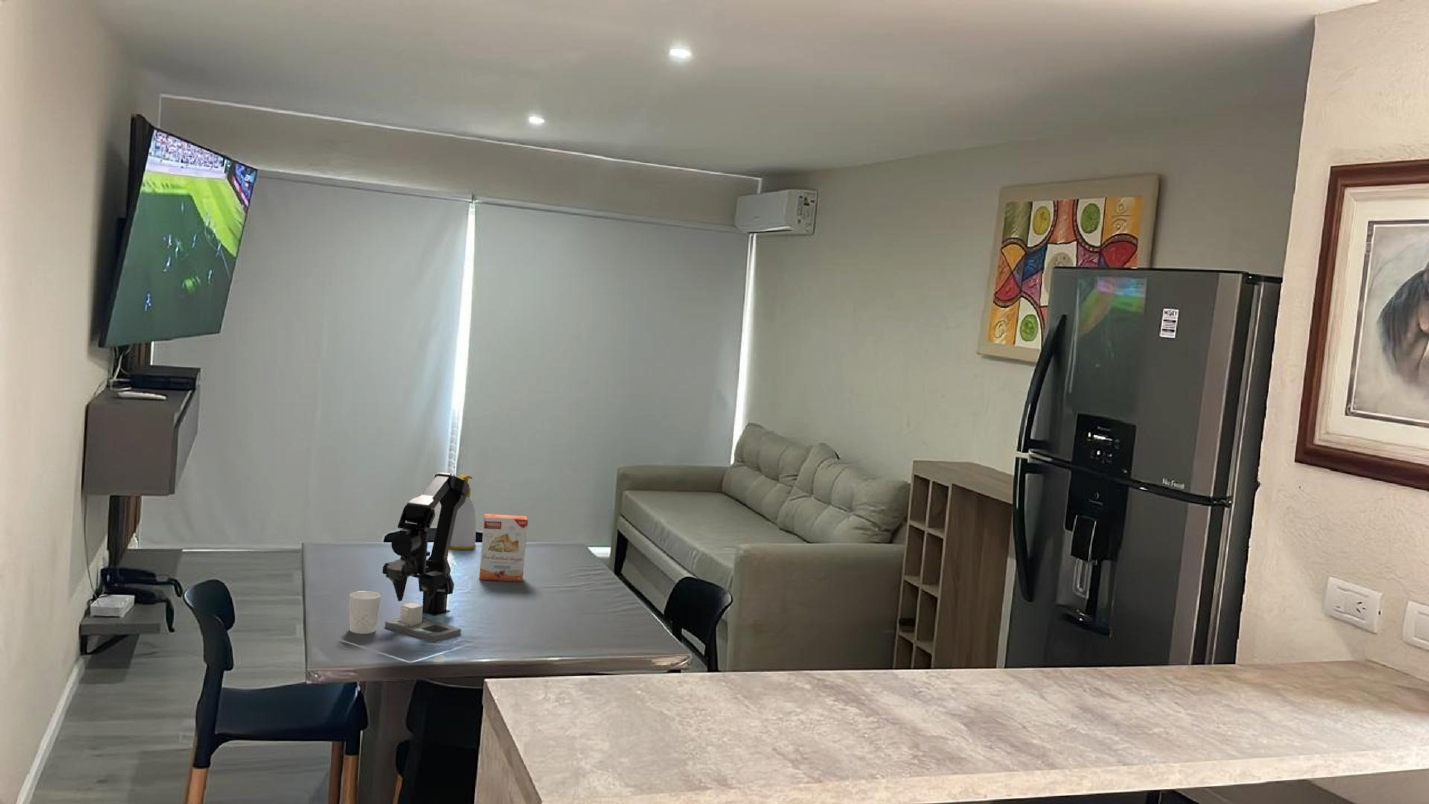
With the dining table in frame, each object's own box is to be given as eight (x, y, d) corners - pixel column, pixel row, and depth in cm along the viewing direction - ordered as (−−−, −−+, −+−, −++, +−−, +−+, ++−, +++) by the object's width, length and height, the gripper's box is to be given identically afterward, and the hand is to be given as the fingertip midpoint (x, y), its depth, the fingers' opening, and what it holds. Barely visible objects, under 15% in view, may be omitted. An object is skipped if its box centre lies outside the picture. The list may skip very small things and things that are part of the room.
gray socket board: (411, 621, 315) (412, 613, 315) (460, 636, 306) (461, 628, 306) (384, 628, 306) (385, 620, 306) (434, 644, 297) (434, 635, 297)
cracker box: (479, 580, 366) (484, 516, 364) (479, 575, 371) (484, 513, 370) (523, 582, 368) (528, 519, 367) (522, 577, 374) (527, 515, 373)
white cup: (368, 637, 297) (371, 600, 297) (341, 633, 299) (344, 596, 298) (383, 630, 305) (386, 593, 304) (356, 625, 307) (359, 589, 306)
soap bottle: (438, 548, 404) (444, 475, 402) (451, 542, 416) (456, 471, 413) (468, 552, 402) (474, 479, 400) (480, 546, 414) (486, 475, 412)
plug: (410, 624, 311) (412, 602, 310) (421, 627, 309) (422, 605, 309) (397, 627, 307) (399, 605, 306) (408, 630, 305) (409, 608, 304)
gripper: (369, 545, 304) (365, 602, 305) (420, 559, 295) (416, 617, 296) (399, 540, 314) (395, 595, 315) (450, 553, 305) (445, 609, 306)
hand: (412, 604), depth 308 cm, fingers open, 9 cm apart
